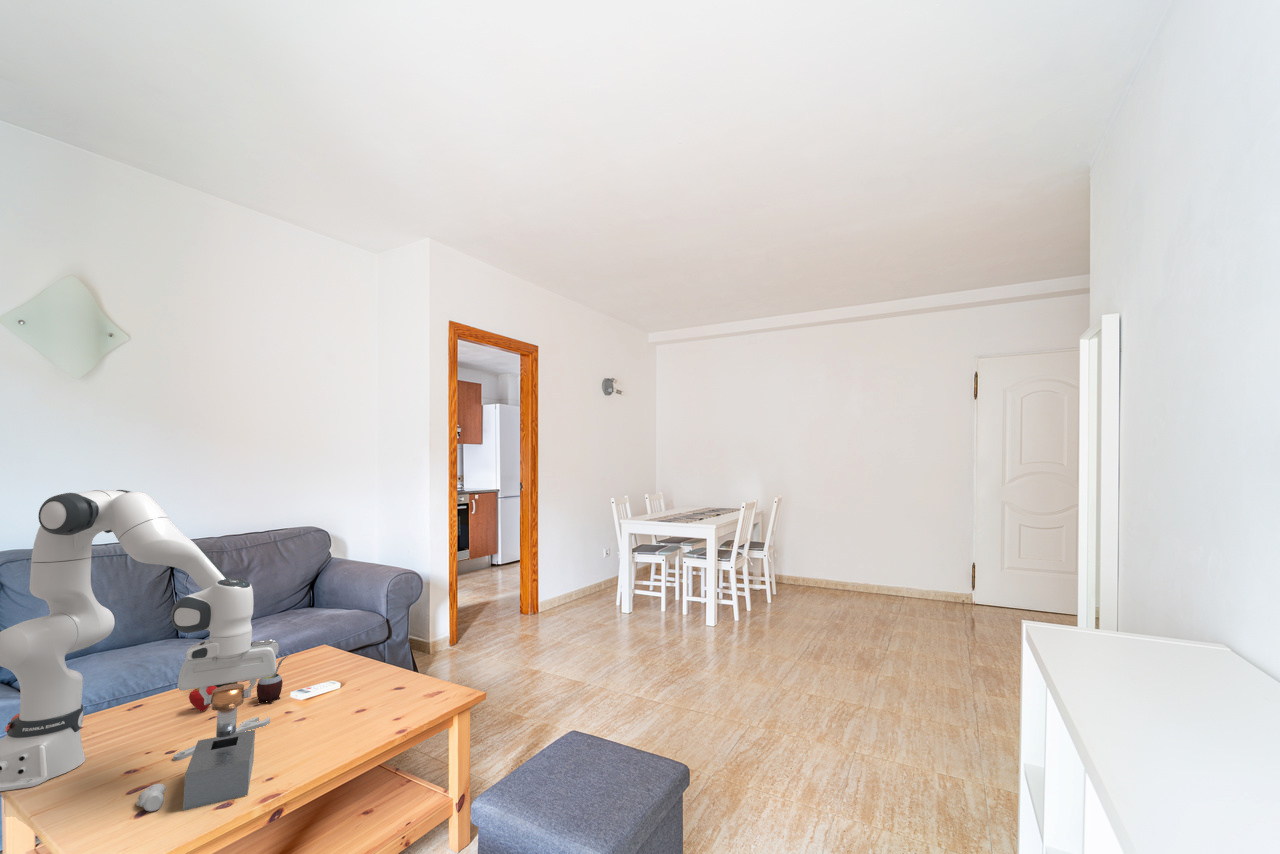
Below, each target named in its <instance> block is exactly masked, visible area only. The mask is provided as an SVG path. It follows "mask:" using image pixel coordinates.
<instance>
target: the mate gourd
mask: <svg viewBox="0 0 1280 854" xmlns="http://www.w3.org/2000/svg"><path fill="white" fill-rule="evenodd" d="M289 656H290V655H289V654H287V655H286V656H284V657H283V658H281V659H280V660H279V662H278V664H277V666H276V673H275V674H274V675H273V676H271V677H265V678H259V680H258V682H257V683H256V684H257V685H256V697H257V700H258V701H257V704H258V703H261V704H263V703H262V702H265V703H268V705H272V704H273V701H272V700H274V701H277V699H278V700H281V693H282V688H283V678H282V676H281V674H279V673H278V671H279V669H280V666H281V664H282V662H283V661H284V660H285V659H286V658H288V657H289ZM266 701H268V702H266Z"/></svg>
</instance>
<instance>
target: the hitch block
mask: <svg viewBox="0 0 1280 854" xmlns="http://www.w3.org/2000/svg"><path fill="white" fill-rule="evenodd" d="M255 736H256V729H255V730H251V731H246V732H240V733H235V734H233V735H230V736H227V737H216V736H214V737H209V738H204V739H200V740H199V739H198V740H197V743H196V747H195V750H194V752H193V755H191V758H190V761H189V763H188V766H187V768H186V770H185V771H186V772H185V776H184V788H183V804H182V805H183V806H182V811H183V812H184V811H187V810H188V811H189V810H193V809H197V808H200V807H206V806H210V805H214V804H216V803H221V802H226V801H229V800H235V799H238V797H239V798H242V796H243V797H246V796H245V795H247V796H249V788H250V783H251V777H252V772H253V771H252V770H253V766H254V756H255V754H254V753H255V738H256V737H255Z"/></svg>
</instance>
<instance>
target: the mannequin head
mask: <svg viewBox="0 0 1280 854" xmlns="http://www.w3.org/2000/svg"><path fill="white" fill-rule="evenodd" d="M166 791H167V790H166V785H164V784H163V783H154V784H152V785H150V786H148V787H146V789H144V790H143V791H142V792H140V794H139V796H138V800H137V801H136V804H135V805H136V806H137V807H140V808H143V809H144V810H145V811H147V812H151V813H152V812H157V811H158V810H160V809H161V808H162V807H163V805H164V802H165V796H164V794H165V792H166Z"/></svg>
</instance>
